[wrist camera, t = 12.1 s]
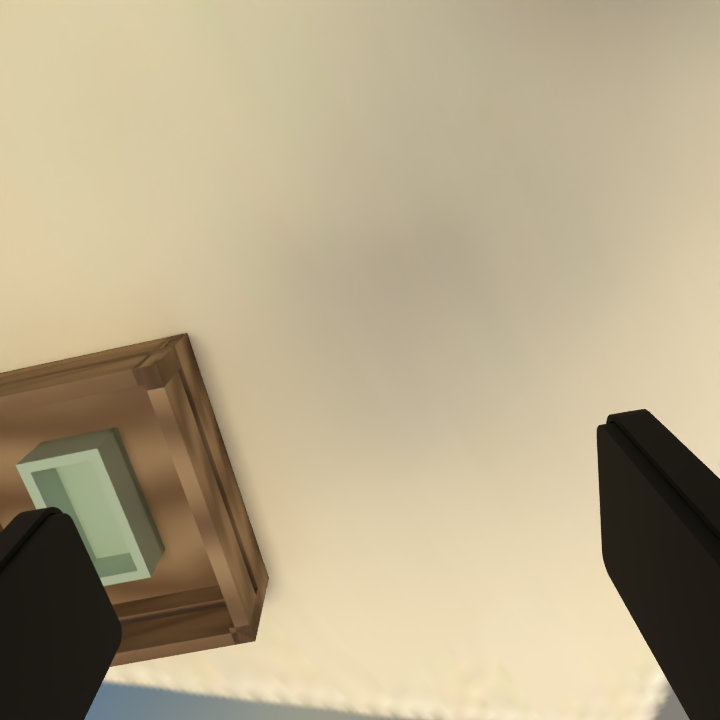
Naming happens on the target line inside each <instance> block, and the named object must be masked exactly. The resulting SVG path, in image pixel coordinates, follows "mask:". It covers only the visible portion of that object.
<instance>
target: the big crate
mask: <svg viewBox="0 0 720 720" xmlns="http://www.w3.org/2000/svg"><path fill="white" fill-rule="evenodd" d="M115 427H117V429H118V431H119V434H120V436H121V439H122V441H123V444H124V446H125V449H126V451H127V454H128V456H129V459H130V461H131V464H132V466H133V469H134V471H135V474H136V476H137V479H138V481H139V484H140V486H141V489H142V491H143V494H144V496H145V499H146V502H147V504H148V507H149V509H150V512H151V514H152V517H153V519H154V522H155V524H156V527H157V529H158V532H159V534H160V537H161V539H162V542H163V544H164V547H165V550H164V552H163V554H162V556H161V558H160V560H159V562H158V564H157V566H156V568H155V570H154V572H153V574H152V576H151V577H150V578H144V579H139V580H134V581H128V582H123V583H118V584H112V585H107V586H104V588H105V591H106V593H107V595H108V597H109V599H110V601H111V604H112V606H113V608H114V610H115V612H116V615H117V617H118V619H119V621H120V624H121V628H122V638H121V643H120V646H119V648H118V650H117V652H116V654H115V657H114V659H113V661H112V663H111V665H110V667H112V666H117V665H123V664H129V663H134V662H140V661H145V660H151V659H157V658H162V657H168V656H174V655H179V654H185V653H191V652H196V651H202V650H208V649H213V648H219V647H225V646H230V645H236V644H242V643H247V642H253V641H255V640H256V635H257V631H258V626H259V621H260V617H261V612H262V607H263V602H264V598H265V593H266V588H267V584H268V579H269V578H268V575H267V572H266V569H265V566H264V563H263V560H262V557H261V554H260V551H259V548H258V545H257V542H256V539H255V536H254V533H253V530H252V527H251V524H250V521H249V518H248V515H247V512H246V509H245V506H244V503H243V500H242V497H241V494H240V491H239V488H238V485H237V482H236V479H235V476H234V473H233V470H232V467H231V464H230V461H229V458H228V455H227V452H226V449H225V446H224V443H223V440H222V437H221V434H220V431H219V428H218V425H217V422H216V419H215V416H214V413H213V410H212V407H211V404H210V401H209V398H208V395H207V392H206V389H205V386H204V383H203V380H202V377H201V374H200V371H199V368H198V365H197V362H196V359H195V356H194V353H193V350H192V347H191V344H190V341H189V338H188V335H187V333H185V334H181V335H176V336H171V337H167V338H162V339H157V340H153V341H148V342H143V343H139V344H134V345H129V346H125V347H120V348H115V349H111V350H106V351H102V352H97V353H92V354H88V355H83V356H78V357H74V358H69V359H64V360H60V361H55V362H50V363H46V364H41V365H36V366H32V367H27V368H23V369H18V370H13V371H9V372H4V373H0V533H1V531H2V530H3V529H4V528H5V527H6V526H7V525H8V524H9V523H10V522H11V521H12V520H13V518H14V517H15V516H17V515H18V514H19V513H21V512H24V511H30V510H36V507H35V505H34V503H33V501H32V499H31V497H30V495H29V493H28V490H27V488H26V486H25V484H24V482H23V480H22V478H21V476H20V474H19V472H18V469H17V467H16V464H17V463H18V462H19V461H21V460H22V459H23V458H24V457H25V456H26V455H27V454H29V453H30V452H31V451H32V450H33V449H34V448H35V447H36V446H38V445H39V444H40V443H41V442H46V441H51V440H56V439H61V438H66V437H71V436H75V435H80V434H85V433H90V432H95V431H100V430H105V429H110V428H115Z"/></svg>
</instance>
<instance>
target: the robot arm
mask: <svg viewBox="0 0 720 720" xmlns="http://www.w3.org/2000/svg"><path fill="white" fill-rule="evenodd" d="M597 451H598V473H599V495H600V517H601V538H602V555H603V560H604V564H605V567H606V570H607V572H608V575H609V577H610V578H611V580H612V582H613V584H614V586H615V587H616V589H617V591H618V593H619V594H620V596H621V598H622V600H623V602H624V603H625V605H626V607H627V609H628V610H629V612H630V614H631V616H632V618H633V619H634V621H635V623H636V625H637V626H638V628H639V630H640V632H641V634H642V635H643V637H644V639H645V641H646V642H647V644H648V646H649V648H650V650H651V651H652V653H653V655H654V657H655V658H656V660H657V662H658V664H659V666H660V667H661V669H662V671H663V673H664V675H665V676H666V678H667V680H668V682H669V683H670V685H671V687H672V689H673V691H674V692H675V694H676V696H677V697H678V699H679V701H680V703H681V705H682V706H683V708H684V710H685V712H686V714H687V715H688V717H689V719H690V720H720V479H719V478H718V477H717V476H716V475H715V474H714V473H713V472H712V471H711V470H710V469H709V468H708V467H707V466H706V465H705V464H704V463H703V462H702V461H700V460H699V459H698V458H697V457H696V456H695V455H694V454H693V453H692V452H691V451H690V450H689V449H688V448H687V447H686V446H685V445H684V444H683V443H682V442H681V441H679V440H678V439H677V438H676V437H675V436H674V435H673V434H672V433H671V432H670V431H669V430H668V429H667V428H666V427H665V426H664V425H663V424H662V423H661V422H660V421H659V420H657V419H656V418H655V417H654V416H653V415H652V414H651V413H650V412H649V411H647V410H646V409H641V410H635V411H629V412H623V413H617V414H611V415H609V416H608V418H607V421H606V424H603V425H599V426H598V428H597ZM121 638H122V628H121V624H120V621H119V619H118V617H117V615H116V612H115V610H114V608H113V606H112V604H111V601H110V599H109V597H108V595H107V593H106V591H105V588H104V586H103V584H102V582H101V580H100V578H99V575H98V573H97V571H96V569H95V567H94V565H93V562H92V560H91V558H90V556H89V554H88V552H87V549H86V547H85V545H84V543H83V541H82V539H81V536H80V534H79V532H78V530H77V528H76V526H75V523H74V521H73V519H72V518H71V516H70V515H68V514H66V513H63V512H62V511H61V510H60V509H59V508H57V507H48V508H42V509H36V510H30V511H24V512H21V513H19V514H18V515H17V516H15V517H14V518H13V520H12V521H11V522H10V523H9V524H8V525H7V526H6V527H5V528H4V529H3V530H2V531H1V533H0V720H84V719H85V716H86V714H87V712H88V710H89V708H90V706H91V704H92V702H93V700H94V698H95V696H96V693H97V692H98V690H99V688H100V686H101V683H102V681H103V679H104V677H105V675H106V673H107V671H108V669H109V667H110V665H111V663H112V661H113V659H114V657H115V654H116V652H117V650H118V648H119V646H120V643H121Z"/></svg>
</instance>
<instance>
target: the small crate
mask: <svg viewBox="0 0 720 720" xmlns="http://www.w3.org/2000/svg"><path fill="white" fill-rule="evenodd" d="M16 467H17V469H18V472H19V474H20V476H21V478H22V480H23V482H24V484H25V486H26V488H27V490H28V493H29V495H30V497H31V499H32V501H33V503H34V505H35V507H36V509H42V508H48V507H57V508H59V509H60V510H61V511H62V512H63V513H66V514H68V515H70V516H71V518H72V519H73V521H74V523H75V526H76V528H77V530H78V532H79V534H80V536H81V539H82V541H83V543H84V545H85V547H86V549H87V552H88V554H89V556H90V558H91V560H92V562H93V565H94V567H95V569H96V571H97V573H98V575H99V578H100V580H101V582H102V584H103V586H107V585H112V584H118V583H123V582H128V581H134V580H139V579H144V578H150V577H151V576H152V574H153V572H154V570H155V568H156V566H157V564H158V562H159V560H160V558H161V556H162V554H163V552H164V550H165V547H164V544H163V542H162V539H161V537H160V534H159V532H158V529H157V527H156V524H155V522H154V519H153V517H152V514H151V512H150V509H149V507H148V504H147V502H146V499H145V496H144V494H143V491H142V489H141V486H140V484H139V481H138V479H137V476H136V474H135V471H134V469H133V466H132V464H131V461H130V459H129V456H128V454H127V451H126V449H125V446H124V444H123V441H122V439H121V436H120V434H119V431H118V429H117V427H115V428H110V429H105V430H100V431H95V432H90V433H85V434H80V435H75V436H71V437H66V438H61V439H56V440H51V441H46V442H41V443H40V444H39V445H38V446H36V447H35V448H34V449H33V450H32V451H31V452H30V453H29V454H27V455H26V456H25V457H24V458H23V459H22V460H21V461H19V462H18V463H17V464H16Z"/></svg>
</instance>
